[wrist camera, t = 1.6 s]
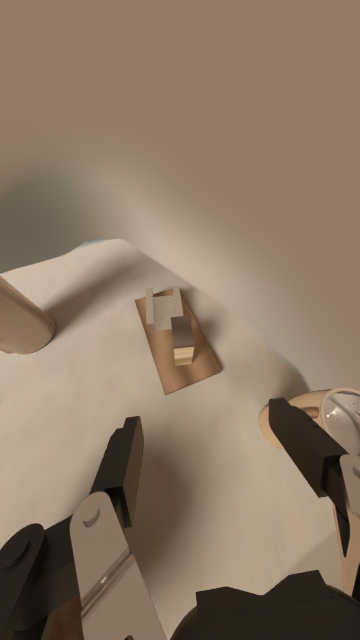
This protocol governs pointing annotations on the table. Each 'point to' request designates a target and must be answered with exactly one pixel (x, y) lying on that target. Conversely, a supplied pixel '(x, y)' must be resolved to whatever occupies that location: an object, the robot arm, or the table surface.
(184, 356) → the grey-topped wooden block
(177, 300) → the clip
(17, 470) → the table surface
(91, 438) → the table surface
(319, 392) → the beer glass
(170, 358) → the board
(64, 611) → the plant pot
